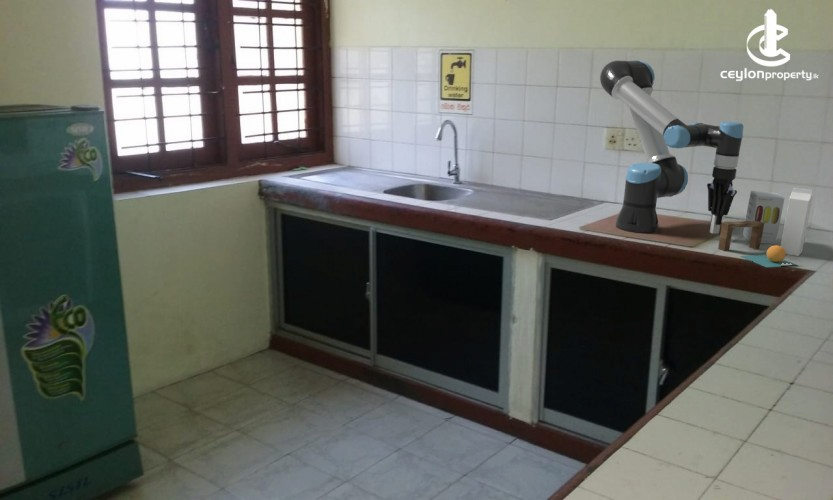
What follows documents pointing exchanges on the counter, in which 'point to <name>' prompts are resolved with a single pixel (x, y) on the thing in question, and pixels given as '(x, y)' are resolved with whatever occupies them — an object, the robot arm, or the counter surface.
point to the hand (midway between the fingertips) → (714, 232)
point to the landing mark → (765, 261)
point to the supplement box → (764, 214)
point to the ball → (776, 253)
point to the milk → (796, 221)
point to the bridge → (728, 227)
